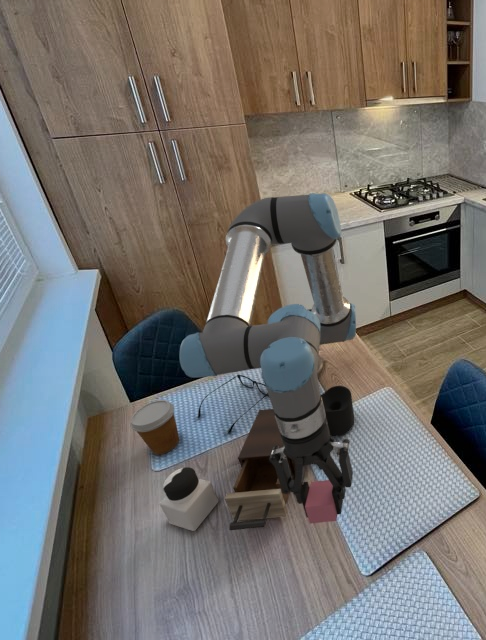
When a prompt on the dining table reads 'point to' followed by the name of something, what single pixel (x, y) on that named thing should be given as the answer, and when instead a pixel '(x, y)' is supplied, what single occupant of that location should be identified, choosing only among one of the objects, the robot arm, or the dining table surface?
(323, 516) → the block
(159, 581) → the dining table surface
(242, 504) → the drawer
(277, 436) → the cabinet
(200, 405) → the eyeglasses
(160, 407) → the disposable coffee cup
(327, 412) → the pen holder
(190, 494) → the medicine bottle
